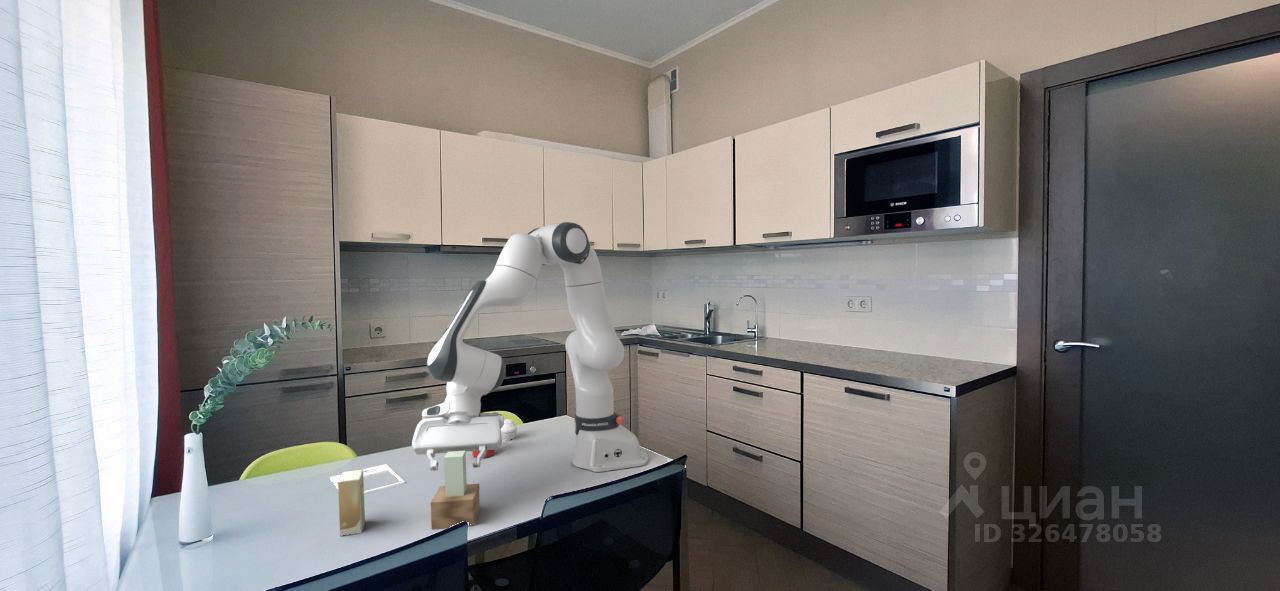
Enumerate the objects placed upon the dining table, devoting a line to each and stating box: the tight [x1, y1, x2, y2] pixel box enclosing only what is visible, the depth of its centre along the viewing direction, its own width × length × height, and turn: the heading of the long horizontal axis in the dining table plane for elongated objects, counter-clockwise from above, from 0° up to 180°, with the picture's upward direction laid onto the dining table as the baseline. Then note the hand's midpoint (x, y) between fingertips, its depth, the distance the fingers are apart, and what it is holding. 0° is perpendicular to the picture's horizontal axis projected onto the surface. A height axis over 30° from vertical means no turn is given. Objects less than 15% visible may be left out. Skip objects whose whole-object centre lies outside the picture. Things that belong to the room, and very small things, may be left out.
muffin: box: [501, 418, 518, 441], centre depth 180 cm, size 6×6×7 cm
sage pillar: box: [443, 451, 467, 497], centre depth 122 cm, size 4×4×9 cm
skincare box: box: [337, 469, 366, 537], centre depth 118 cm, size 6×4×12 cm
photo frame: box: [329, 463, 406, 495], centre depth 146 cm, size 15×1×18 cm
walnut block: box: [430, 483, 481, 530], centre depth 122 cm, size 9×9×6 cm
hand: (455, 468), depth 122 cm, fingers open, 8 cm apart
